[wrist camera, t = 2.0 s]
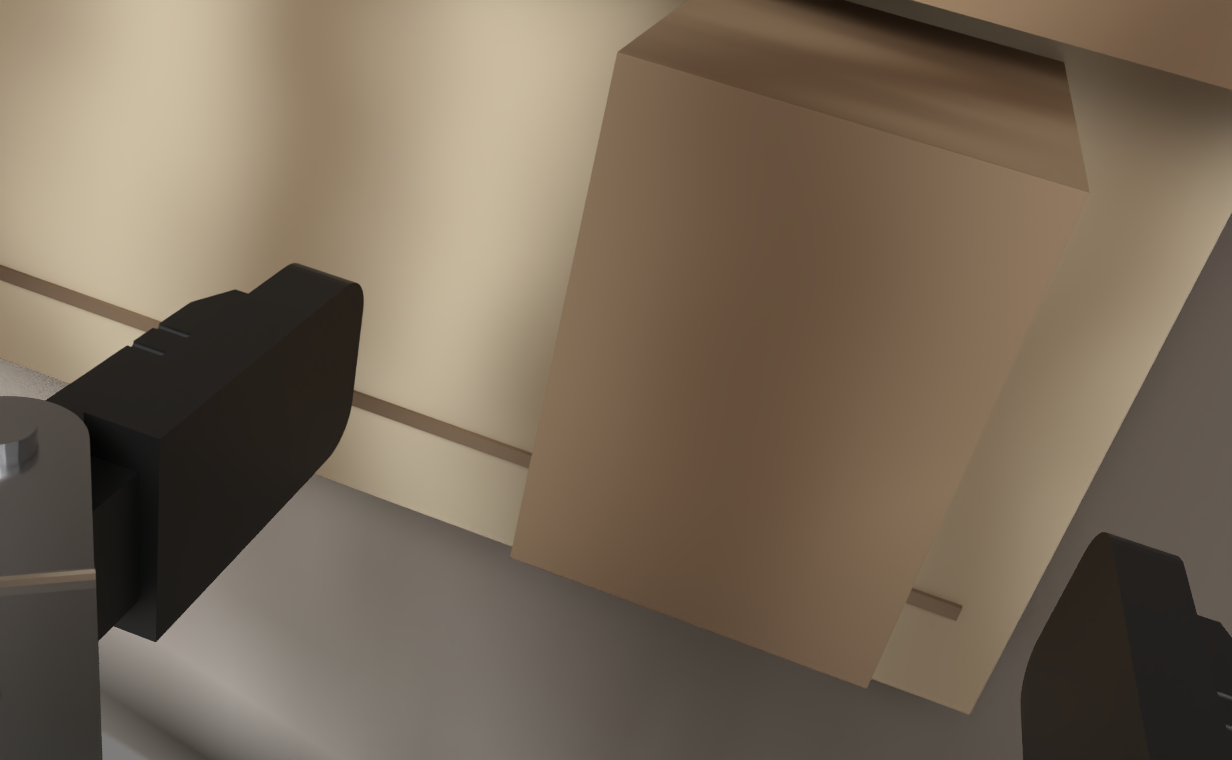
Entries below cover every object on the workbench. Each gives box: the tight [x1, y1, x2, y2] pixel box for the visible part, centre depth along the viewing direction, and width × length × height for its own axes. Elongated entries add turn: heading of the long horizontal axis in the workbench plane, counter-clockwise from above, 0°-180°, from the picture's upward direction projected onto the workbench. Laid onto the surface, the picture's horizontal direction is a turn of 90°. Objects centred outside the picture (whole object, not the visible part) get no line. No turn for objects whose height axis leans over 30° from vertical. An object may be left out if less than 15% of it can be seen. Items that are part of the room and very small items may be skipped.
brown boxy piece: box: [510, 0, 1090, 689], centre depth 17 cm, size 5×10×6 cm, turn 167°
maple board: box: [0, 0, 1232, 715], centre depth 21 cm, size 28×14×4 cm, turn 77°
